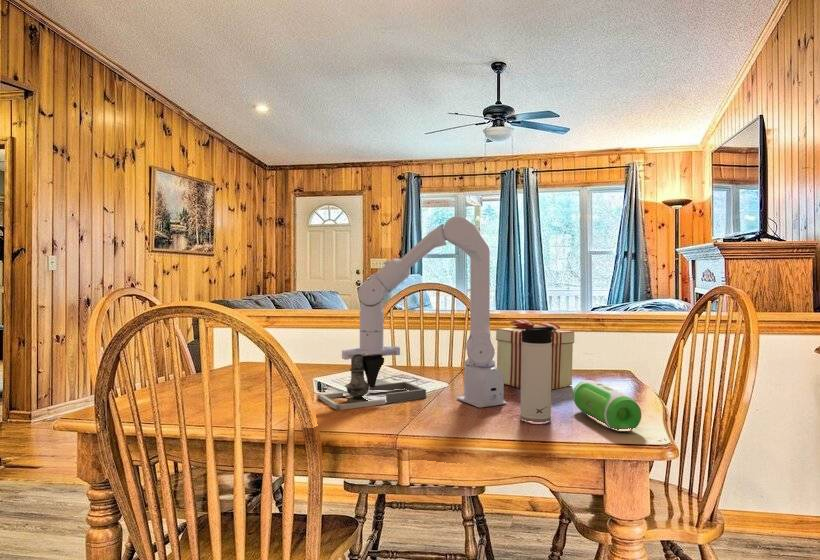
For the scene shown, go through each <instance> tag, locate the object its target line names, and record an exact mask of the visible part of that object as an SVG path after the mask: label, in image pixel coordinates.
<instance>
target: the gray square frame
mask: <svg viewBox="0 0 820 560" xmlns="http://www.w3.org/2000/svg"><path fill="white" fill-rule="evenodd" d="M342 392H343V391H339V392H337V391H336V392H329V393H322V394H321V393H319V394H318V400H320V401H321V402H323V403H325V404H326V405H327V406H329V407H331V408H333V409H334V410H335V411H342V410H351V409H358V408H364V407H373V406H374V407H375V406H381V405H385V404H386V398H381V399H373V400H369V401H364V402H356V403H350V402H347V403H341V404H339V403H337V402H335V401H334V400H332V399H334V398H344V397H343V393H342Z"/></svg>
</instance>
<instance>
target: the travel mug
mask: <svg viewBox="0 0 820 560" xmlns="http://www.w3.org/2000/svg"><path fill="white" fill-rule="evenodd" d="M552 330H554V327H553V326H550V327H538V328H528V329H525V330H522V341H521V343H522V345H521V388H520V406H519V407H520V408H519V409H520V411H519V412H520V414H519V415H520V417H519V418H521V419H523V420H526V421H533V422H546V421H550V420H551V419H552V415H551V414H552V389H551V372H552V346H551V345H552V339H551V338H552ZM521 419H520V420H521ZM551 421H552V420H551ZM551 421H550V422H551Z"/></svg>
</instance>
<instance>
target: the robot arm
mask: <svg viewBox="0 0 820 560" xmlns="http://www.w3.org/2000/svg"><path fill="white" fill-rule="evenodd" d="M446 241H447V242H448V243H450V244H452V245H453V246H456V247H458V248H459V249H461V250H462V252H464V253H465V254H466V255H467V256H468V257H469V258H470V259H469V260H470V261H469V262H470V263H469V264H470V265H469V266H470V267H469V269H470V271H469V272H470V277H469V279H470V280H469V281H470V285H469V287H470V288H469V289H470V299H469V300H470V301H469V303H470V306H469V308H470V309H469V310H470V313H469V314H470V315H469V317H470V321H469V322H470V325H469V337H468V338H467V340H466V343H465V344H466V345H465V348H466V355H467V358H466V360H464V378H463V379H464V381H463V382H464V383H463V384H464V386H463V387H464V394H463V395H461V396H457V397H456V399H457V400H458V401H461V402H464V403H466V404H469V405H471V406H474V407H476V408H487V407H492V406H493V407H494V406H499V405H500V406H501V405H506V404H507V401H505V399H504V398H505V397H504V392H505V391H504V390H505V388H504V387H505V384H504V377H503V374H502V372H501V371H500V370H498V369H497V365H496V361H495V360H494V356H495V353H496V352H495V348H494V345H493V343H492V340H491V328H490V327H491V326H490V317H491V316H490V315H491V313H490V308H491V307H490V301H491V300H490V289H491V288H490V285H491V284H490V274H491V273H490V270H491V269H490V265H491V264H490V263H491V262H490V255H491V254H490V247H489V246H488V244H487V243H486V241H485V240H484V238H483V237H482V236H481V233H479V231H478V229H477V227H476V226H475V225H474V223H472V222H471V221H469V220H468V219H467V218H465V217H463V216H460V215H459V216H458V215H455V216H451V217H450V218H449V219H447V220H446V222H445V224H444V223H442V224H440V225H439V226H437V227H435V228H434V229H433V230H431V231H429V232H428V233H427V234H426V235H425V236H424V237H423V238H422V239H421V240H420V241H419V242H418V243H416V244H415V245H414V246H413V247H412V248H411V249H410V250H408V252H407V253H406V254H404V255H403V256H402V257H401V258H391V259H387V260H385V262H383V264H384V265H383V267H381V268H380V269H379V270H378V271H377V272H376V273H374V274H373V273H371V275H369V279H370V280H364V282H362V284H361V285H360V286H359V288H358V291H357V292H358V293H357V296H358V299H359V301H360V303H359V310H360V311H359V347H358V348H351V349H345V350H344V349H343V350H341V359H343V360H346V361H347V360H351V359H352V357H353V356H354V355H356V354H360V355H362V356H363V368H364V369H365V370H364V375H365V376H366V380H367V383H369V384H370V386H369V387H371V388H373V387H375V385H376V382H377V380H378V379H377V378H378V375H379V373H380V371H381V369H382V366H383V364H384V363H385V357H384V356H401V347H400V346H396V345H394V346H384V310H383V305H384V304H383V300H384V299H385V297H386V294H390V293H391V292H393V291H394V290H395V289H396V288H397V287H398V286H400V285H401V284H402V283H403V282H404V281H405V280H406V279H407V278H409V277H410V269H411V268H412V267H413V266H414V265H416V264H417V263H418V262H419V261H420V260H422V259H423V258H424V257H425V256H426V255H428V254H429V253H430V252H432V251H433V249H436V248H440V247H443V246H447V242H446Z"/></svg>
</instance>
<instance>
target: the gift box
mask: <svg viewBox="0 0 820 560" xmlns="http://www.w3.org/2000/svg"><path fill="white" fill-rule="evenodd" d="M510 324H511V325H513V326H514V327H503V328H496V330H495V340H496V341H497V344H496V345H497V350H496V358H497V359H496V368H497V369H498V370H500V371H501V372H502V374H503V377H504V386H505V385H506V386H508V387H509V386H510V387H513V388H517V389H521V345H522V343H521V341H522V330H525V329H528V328H538V327H550V326H553V327H554V330H552V338H551V339H552V345H551V346H552V372H551V390H557V389H562V387H563V388H568V387H567V386H569V387H571V386H570V385H573V351H574V350H573V348H574V346H573V345H574V344H575V331H573V330H568V329H560V328H561V326H560V325H558V324H556V323H553V322H545V323H544V322H541V323H539V324H535V323H534V322H533V321H530V320H527V319H517V320H512V321H510Z"/></svg>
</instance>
